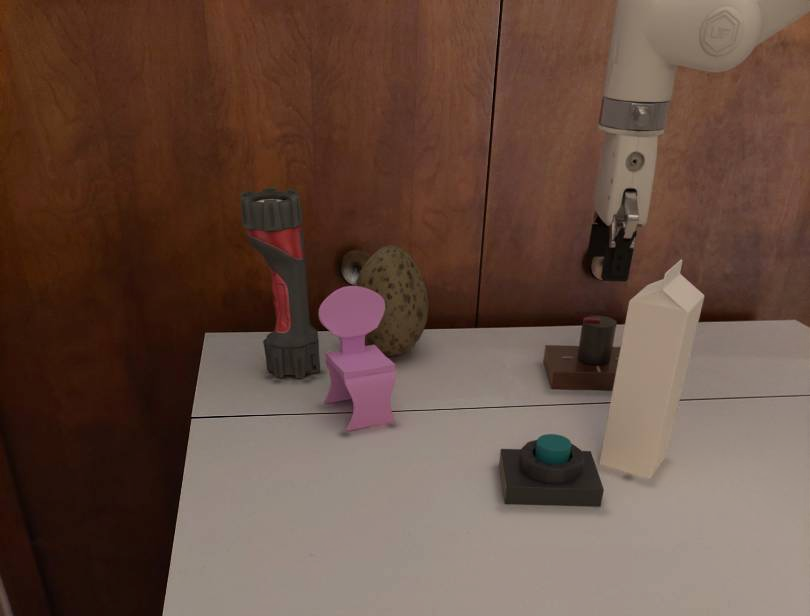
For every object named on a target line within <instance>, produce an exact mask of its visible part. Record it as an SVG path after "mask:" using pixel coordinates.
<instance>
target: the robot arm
mask: <svg viewBox="0 0 810 616" xmlns="http://www.w3.org/2000/svg"><path fill="white" fill-rule="evenodd" d="M808 13H810V0H617V1H616V6H615V13H614V19H613V26H612V32H611V38H610V44H609V51H608V56H607V57H608V58H607V66H606V72H605V77H604V84H603V91H602V96H601V97H602V98H601V103H600V109H599V110H600V111H599V117H598V123H597V129H598V131H601V132H604V137H603V141H602V146H601V151H600V157H599V161H598V167H597V174H596V175H597V176H596V179H595V188H594V195H593V208H594V213H593V219H592V221H593V223H592V224H591V228H590V235H589V241H588V248H587V255H588V256H589V257H592V258H593V257H594V258H603V262H602V267H601V274H600V279H601V280H602V281H603V282H627V281H628V280H629V275H630V271H631V267H632V261H633V255H634V251H635V246H636V237H637V235H638V233H637V232H638V231H637V227H638V228H643V227H645V226H646V225H647V223H648V217H649V211H650V206H651V199H652V194H653V187H654V180H655V174H656V173H655V172H656V166H657V157H658V146H659V145H658V144H659V136H662V135H664V134H665V131H666V125H667V121H668V115H669V110H670V105H671V101H672V95H673V91H674V85H675V80H676V75H677V70H678V66H680V67H685V68H689V69H693V70H698V71H701V72H707V73H723V72H727V71H730V70H732V69H734V68H736V67H737V66H739V65H741V64H742V63H743V62H744V61H746V60H747V58H748V57H749V56H750V55H751V53H752V52H753V51H754V49H755V48H756V47H757V46H759V45H760V44H761V43H763V42H765V41H766V40H768V39H770V38H771V37H772V36H774V35H776V34H777V33H779V32H780V31H782V30H783V29H784V28H787V27H789V26H790V25H791V24H792V23H794V22H796V21H797V20H799V19H801V18H802V17H804V16H805V15H807V14H808Z"/></svg>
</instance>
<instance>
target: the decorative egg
mask: <svg viewBox="0 0 810 616" xmlns="http://www.w3.org/2000/svg"><path fill="white" fill-rule="evenodd" d="M354 286H359V287H364V288H367V289H370V290H372V291H374V292H376V293H378V294H379V295H380V296H382V298H383V299H384V302H385V311H384V314H383V317H382V319H381V321H380V323H379V325H378V327H377V328H376V329H374V330H373V331H371V332H369V333H368V334H366V335H365V346H370V345H375V346H376V347H377V348H378V349H379V350H380V351H381V352H382V353H383V354H384V355H385V356H386V357H396V356H398V355H400V354H401V355H402V354H404V353H406V352H407V351H410V350H411V349H412V348H413V347H414V346H415V345H416V344H417V342H418V341H419V340H420V339H421V337H422V335H423V333H424V332H425V329H426V325H427V323H428V322H427V321H428V316H429V300H428V293H427V288H426V284H425V281H424V277H423V276H422V274H421V272H420V270H419V268H418V266H417V264H416V262H415V261H414V259H413V258H412V257H411V256H410V254H409V253H407V252H406V251H405V250H404V249H403V248H401V247H399V246H396V245H386V246H383V247H381V248H379V249H378V250H377V251H375V252H374V253H372V255H371V256H369V258H368V259H367V261H366V262H365V263H364V264H363V266H362V268H361V269H360V272H359V274H358V275H357V278H356V280H355V283H354Z"/></svg>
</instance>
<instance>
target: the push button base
mask: <svg viewBox="0 0 810 616" xmlns="http://www.w3.org/2000/svg"><path fill="white" fill-rule="evenodd" d="M536 443H537V439H534V440H530V441H527V442H526V443H525V444H524V445H523V446H521V448H500V452H499V462H498V468H499V475H500V481H501V482H500V483H501V487H502V495H503V501H504V505H514V506H515V505H517V506H518V505H520V506H552V507H553V506H554V507H555V506H556V507H592V508H593V507H594V508H601V506H602V501H603V496H604V490H605V489H604V486H603V483H602V479H601V477H600V474H599V472H598V471H599V470H598V468H597V465H596V462H595V460H594V457H593V456H594V455H593V453H592V451H591V450H582V449H580V448H579V447H578V446H576V445H575V444H574V443H571V451H570V457H569V460H568V461H567V462H564V463H561V464H551V463H546V462H543V461H540V460H538V459H537V458H536V457H535V451H536Z"/></svg>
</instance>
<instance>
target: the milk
mask: <svg viewBox="0 0 810 616" xmlns="http://www.w3.org/2000/svg"><path fill="white" fill-rule="evenodd" d="M682 265H683V259H682V258H681V259H680V260H678V261H677V262H676V263H675V264H674V265H673V266H672V267H670V268H669V269H668V270H667V271H666V272H665V273H664V276H663V278H662V279H660V280H657V281H654V282H652V283H649V284H647V285H645V287H643V288H642V289H641V290H640V291H639V292H638V293H636V294H635V296H633V297H632V298H631V299H630V300H629V301H628V306H627V310H626V317H625V321H624V328H623V332H622V338H621V344H620V347H621V348H620V354H619V359H618V365H617V370H616V375H615V381H614V386H613V390H612V392H611V398H610V402H609V403H610V404H609V409H608V414H607V419H606V425H605V430H604V435H603V439H602V440H603V441H602V446H601V452H600V456H599V465H602V466H605V467H607V468H612V469H615V470H619V471H622V472H626V473H628V474H632V475H635V476H639V477H642V478H646V479H648V480H650V479H651V478H652V477H653V476H654V474H655V473H656V472H657V470H658V469H659V467H660V466H661V464H662V463H663V461H664V460H665V459H666V457H667V455H668V450H669V446H670V442H671V437H672V434H673V430H674V425H675V421H676V417H677V412H678V410H679V409H678V408H679V405H680V401H681V396H682V393H683V392H682V391H683V388H684V384H685V379H686V375H687V371H688V367H689V363H690V360H691V359H690V358H691V354H692V349H693V347H694V341H695V337H696V335H697V334H696V333H697V329H698V325H699V321H700V317H701V312H702V308H703V304H704V301H705V294H704V293H702V292H701V291H700V290H699V289H698V288H697V287H696V286H695V285H694V284H692V283H691V282H690V280H688V279H687V278H686V277H684V276H683V275H682V273H681V271H682Z"/></svg>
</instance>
